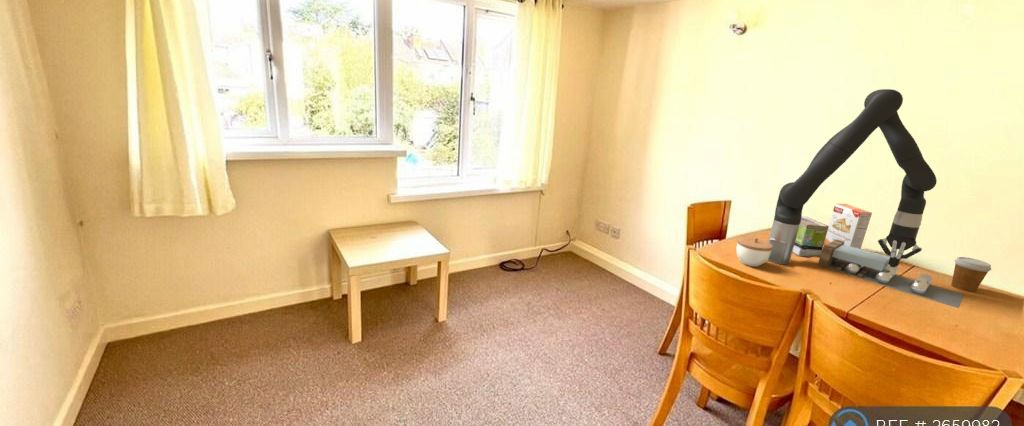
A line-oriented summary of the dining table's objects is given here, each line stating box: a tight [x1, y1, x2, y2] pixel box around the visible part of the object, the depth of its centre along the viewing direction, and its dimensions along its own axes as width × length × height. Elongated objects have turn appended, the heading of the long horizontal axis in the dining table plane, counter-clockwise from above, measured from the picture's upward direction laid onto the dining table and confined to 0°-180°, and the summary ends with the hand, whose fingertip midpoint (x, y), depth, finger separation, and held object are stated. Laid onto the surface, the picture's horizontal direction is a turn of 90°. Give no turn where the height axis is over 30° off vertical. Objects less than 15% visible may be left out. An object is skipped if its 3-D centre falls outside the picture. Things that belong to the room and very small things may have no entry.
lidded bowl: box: [735, 236, 773, 268], centre depth 172 cm, size 13×13×11 cm
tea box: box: [792, 216, 829, 258], centre depth 190 cm, size 15×10×15 cm
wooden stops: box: [817, 239, 872, 279], centre depth 172 cm, size 18×14×9 cm
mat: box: [827, 259, 965, 309], centre depth 163 cm, size 18×38×1 cm, turn 39°
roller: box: [845, 262, 864, 275], centre depth 170 cm, size 16×4×4 cm, turn 129°
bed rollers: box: [875, 265, 934, 296], centre depth 160 cm, size 16×14×4 cm
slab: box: [832, 245, 890, 271], centre depth 169 cm, size 12×16×3 cm
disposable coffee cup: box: [950, 256, 992, 293], centre depth 158 cm, size 10×10×12 cm
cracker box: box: [823, 203, 873, 249], centre depth 193 cm, size 14×6×21 cm, turn 5°
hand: (892, 266), depth 162 cm, fingers closed
